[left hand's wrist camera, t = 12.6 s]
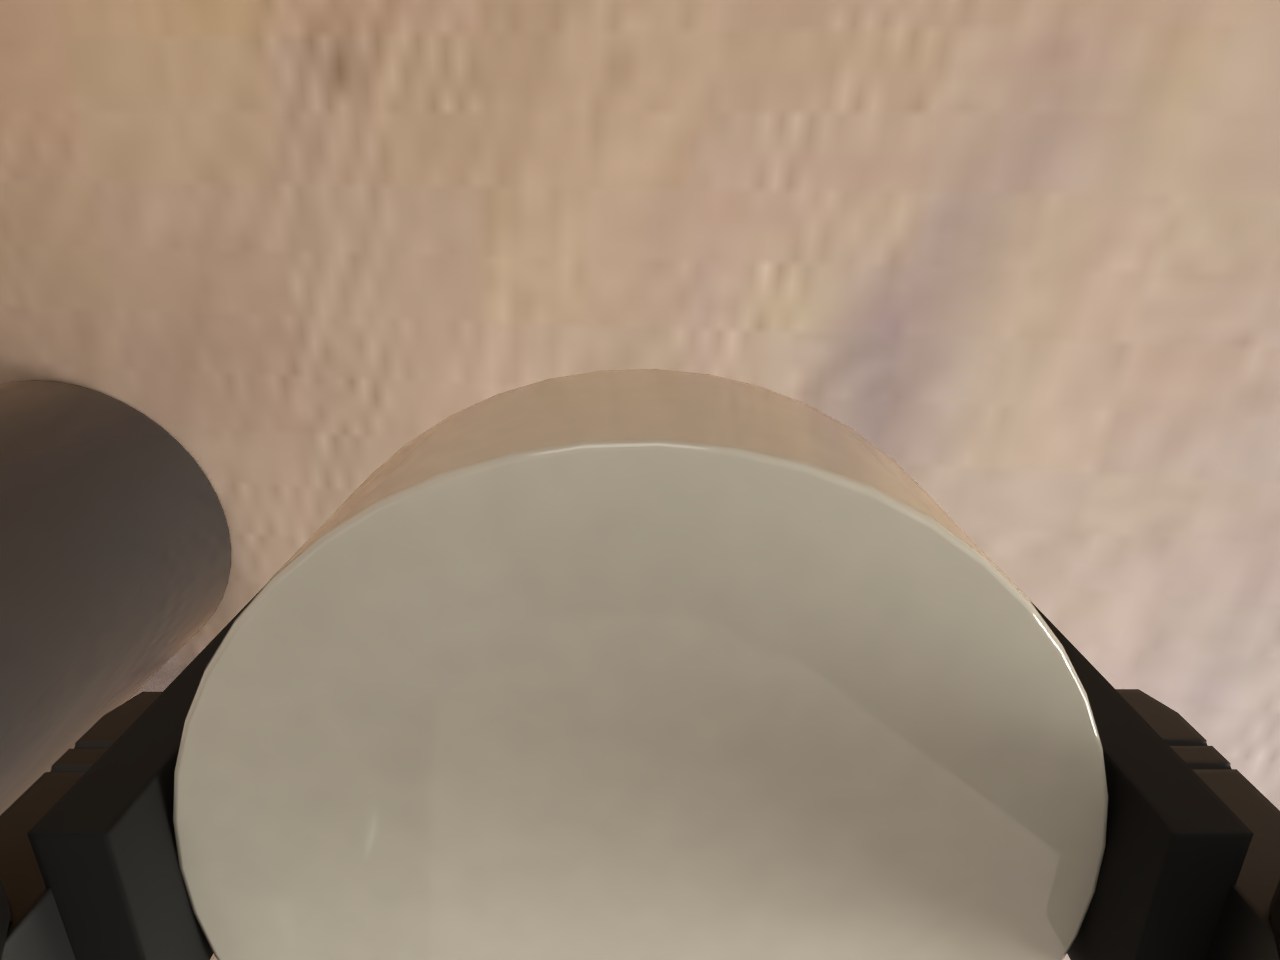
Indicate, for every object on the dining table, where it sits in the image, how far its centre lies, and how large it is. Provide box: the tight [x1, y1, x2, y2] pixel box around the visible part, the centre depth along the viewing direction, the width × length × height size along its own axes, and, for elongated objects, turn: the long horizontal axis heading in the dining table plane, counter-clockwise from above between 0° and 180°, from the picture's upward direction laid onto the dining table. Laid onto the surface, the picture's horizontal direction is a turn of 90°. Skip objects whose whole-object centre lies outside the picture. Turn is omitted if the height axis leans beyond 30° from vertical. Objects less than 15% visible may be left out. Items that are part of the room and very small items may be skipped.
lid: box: [173, 369, 1108, 960], centre depth 10 cm, size 10×10×3 cm
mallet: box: [0, 380, 231, 815], centre depth 21 cm, size 24×9×9 cm, turn 0°
